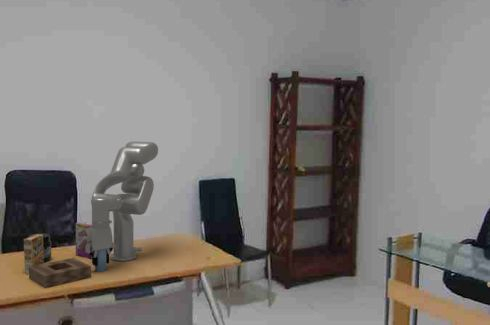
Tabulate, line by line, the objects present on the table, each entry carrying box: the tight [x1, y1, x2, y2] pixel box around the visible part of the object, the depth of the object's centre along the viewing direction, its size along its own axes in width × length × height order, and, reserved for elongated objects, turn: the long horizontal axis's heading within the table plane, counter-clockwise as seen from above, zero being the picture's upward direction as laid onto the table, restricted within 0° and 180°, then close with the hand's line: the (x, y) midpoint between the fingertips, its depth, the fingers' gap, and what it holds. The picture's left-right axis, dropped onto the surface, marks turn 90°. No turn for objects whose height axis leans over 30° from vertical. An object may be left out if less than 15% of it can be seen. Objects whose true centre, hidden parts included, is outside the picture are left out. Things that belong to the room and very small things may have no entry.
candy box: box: [23, 233, 45, 274], centre depth 219 cm, size 9×4×15 cm, turn 171°
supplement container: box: [28, 233, 52, 263], centre depth 234 cm, size 10×10×12 cm
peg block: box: [28, 257, 92, 289], centre depth 210 cm, size 20×16×5 cm
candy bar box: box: [74, 221, 92, 260], centre depth 242 cm, size 11×5×16 cm, turn 59°
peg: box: [94, 249, 107, 273], centre depth 222 cm, size 5×5×10 cm
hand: (100, 263), depth 222 cm, fingers closed on peg, 5 cm apart
